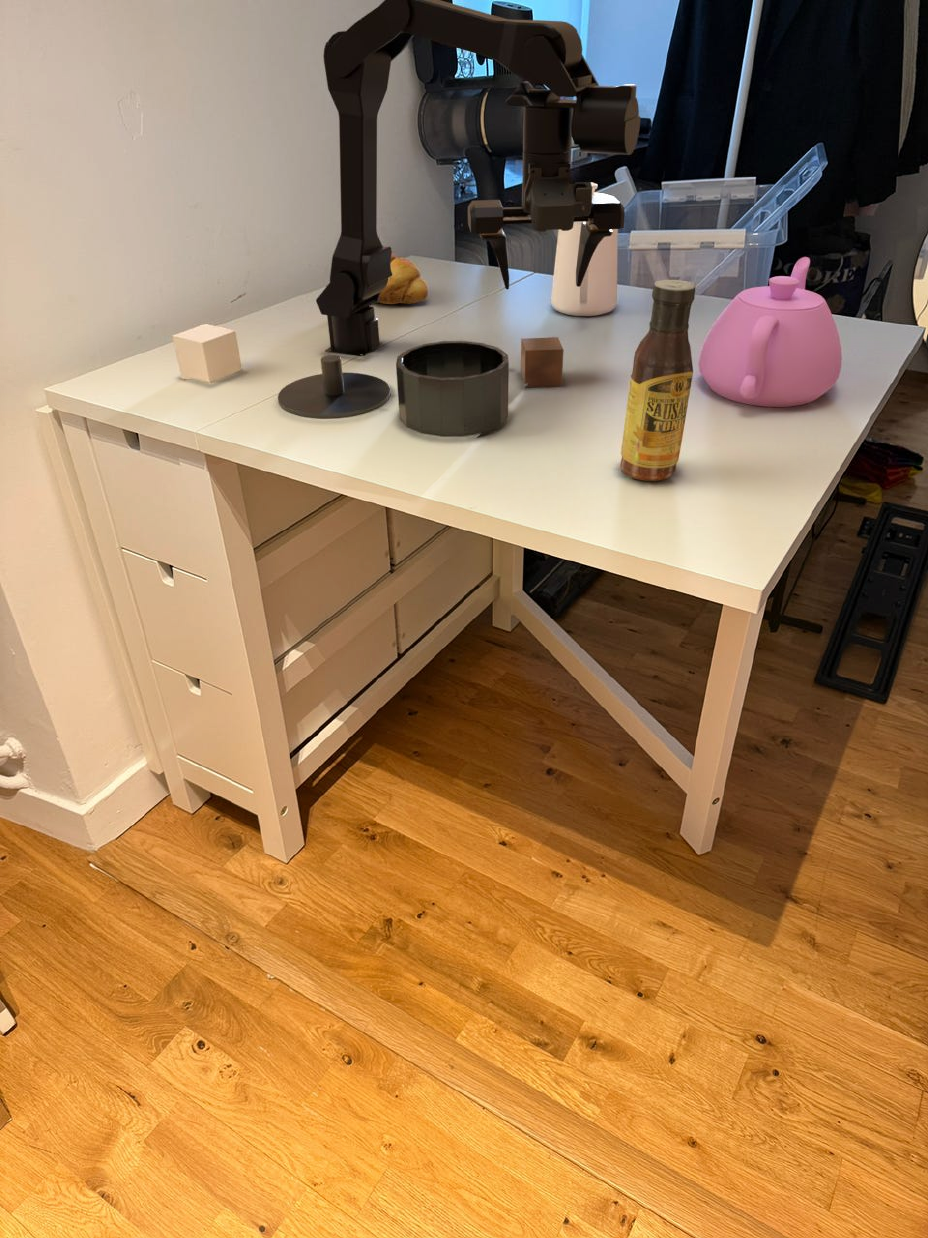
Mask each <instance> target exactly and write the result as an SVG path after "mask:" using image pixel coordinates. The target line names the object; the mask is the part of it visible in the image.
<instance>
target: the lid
mask: <svg viewBox="0 0 928 1238" xmlns="http://www.w3.org/2000/svg"><path fill="white" fill-rule="evenodd" d="M342 364H343V363H342V358H341V356H339V355H336V354H328V355H324V356H321V358H320V368H321V373H320V374H314V375H310V376H307V377H303V378H300V379H297V380H295V381H292V382H290V383H289V384H286V385H285V386H284V387H283V388H281V390H280V391H279V393H278V395H277V401H278V404H279V406H280V407H281V408H282V409H283V410H285V411H286V412H288V413H290V414H293V415H296V416H300V417H305V418H314V419H337V418H346V417H353V416H358V415H361V414H362V415H363V414H365V413H368V412H371V411H374V410H376V409H377V408H380V407H381V406H383V405H384V404H386V402H388V400H389V399H390V397H391V393H392V392H391V387H390V385H389V384H388V382H386V381H385V380H384V379H381V378H380V377H377V376H375V375H371V374H370V375H369V374H366V373H360V372H343V365H342Z"/></svg>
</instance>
